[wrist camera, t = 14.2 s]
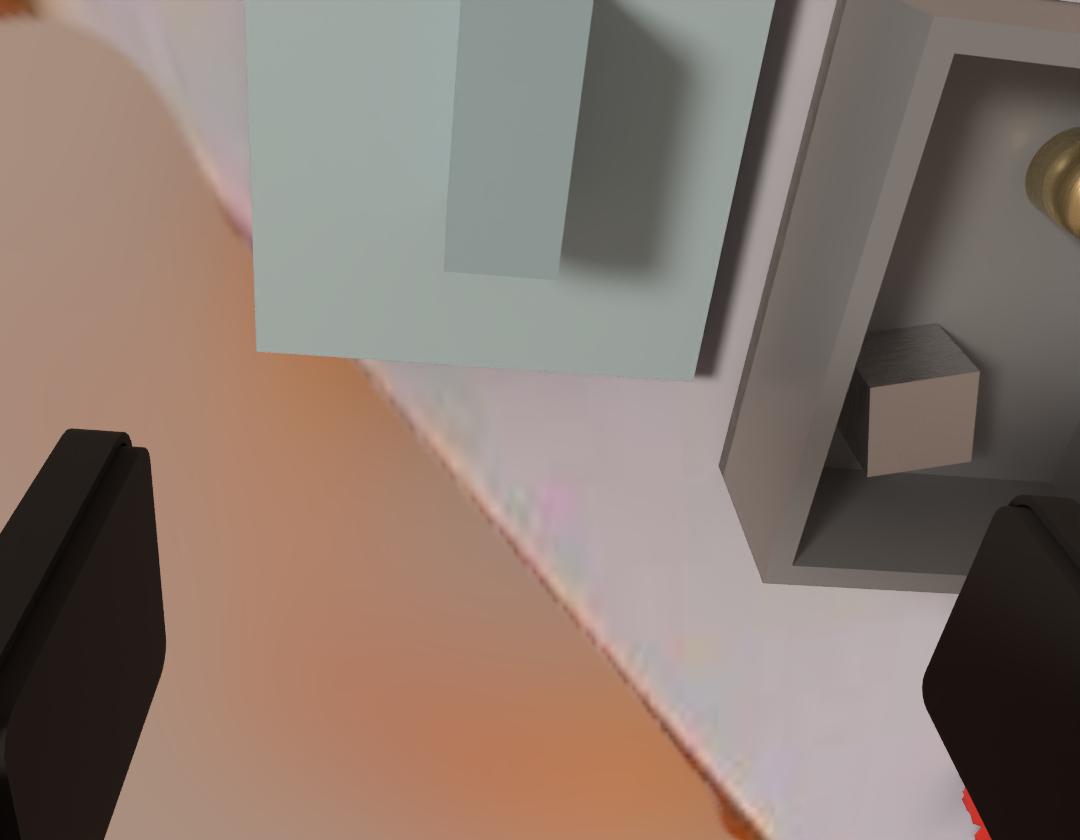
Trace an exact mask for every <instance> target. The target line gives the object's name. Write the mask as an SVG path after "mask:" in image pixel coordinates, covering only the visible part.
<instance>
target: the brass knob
mask: <svg viewBox="0 0 1080 840" xmlns="http://www.w3.org/2000/svg"><path fill="white" fill-rule="evenodd" d="M1025 188H1026V193H1027V196H1028V199H1029V201H1030V202H1031V204H1032V205H1033V206H1034V207H1035V208H1036V209H1038V210H1039V211H1040V212H1042V213H1043V214H1045V215H1046V216H1047V217H1049V218H1050V219H1051V220H1053V221H1054V222H1056V223H1057V224H1058V225H1060V226H1061V227H1062V228H1064V229H1065V230H1067V231H1068V232H1069V233H1071V234H1072V235H1073V236H1075V237H1076V238H1078V239H1079V240H1080V127H1075V128H1071V129H1068V130H1065V131H1063V132H1060V133H1058V134H1057V135H1055V136H1053V137H1052V138H1051V139H1049V140H1048V141H1047V142H1046V143H1045V144H1044V145H1043V146H1042V147H1041V148H1040V149H1039V150H1038V151H1037V153H1036V154H1035V155H1034V157H1033V159H1032V160H1031V162H1030V165H1029V167H1028V170H1027V173H1026V179H1025Z"/></svg>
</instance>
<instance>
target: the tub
mask: <svg viewBox="0 0 1080 840" xmlns="http://www.w3.org/2000/svg"><path fill="white" fill-rule="evenodd" d="M1075 127H1080V3H1076V2H1068V1H1060V0H837V3H836V7H835V10H834V14H833V18H832V22H831V26H830V30H829V34H828V38H827V42H826V46H825V50H824V54H823V58H822V62H821V66H820V70H819V73H818V77H817V81H816V85H815V89H814V93H813V97H812V101H811V105H810V109H809V113H808V117H807V121H806V125H805V129H804V133H803V136H802V140H801V144H800V148H799V152H798V156H797V160H796V164H795V168H794V172H793V176H792V180H791V184H790V188H789V192H788V196H787V199H786V203H785V207H784V211H783V215H782V219H781V223H780V227H779V231H778V235H777V239H776V243H775V247H774V251H773V255H772V258H771V262H770V266H769V270H768V274H767V278H766V282H765V286H764V290H763V294H762V298H761V302H760V306H759V310H758V314H757V318H756V321H755V325H754V329H753V333H752V337H751V341H750V345H749V349H748V353H747V357H746V361H745V365H744V369H743V373H742V377H741V381H740V384H739V388H738V392H737V396H736V400H735V404H734V408H733V412H732V416H731V420H730V424H729V428H728V432H727V436H726V440H725V444H724V447H723V451H722V455H721V459H720V463H719V468H720V471H721V473H722V476H723V478H724V481H725V484H726V486H727V489H728V492H729V494H730V497H731V500H732V502H733V505H734V508H735V510H736V513H737V516H738V518H739V521H740V524H741V526H742V529H743V531H744V534H745V537H746V539H747V542H748V545H749V547H750V550H751V553H752V555H753V558H754V561H755V563H756V566H757V569H758V571H759V574H760V577H761V579H762V582H763V583H769V584H788V585H806V586H824V587H842V588H861V589H879V590H897V591H915V592H934V593H952V594H959V593H960V591H961V589H962V587H963V584H964V582H965V580H966V577H967V575H968V573H969V570H970V568H971V566H972V564H973V561H974V559H975V557H976V554H977V552H978V550H979V547H980V545H981V543H982V540H983V538H984V536H985V534H986V531H987V529H988V527H989V524H990V522H991V520H992V517H993V516H994V514H995V512H996V511H997V510H998V509H999V508H1000V507H1003V506H1008V505H1009V503H1010V501H1012V500H1013V499H1014V498H1015V497H1016V496H1019V495H1038V496H1052V497H1067V498H1071V499H1074V500H1075V501H1076V502H1078V503H1079V504H1080V240H1079V239H1078V238H1076V237H1075V236H1073V235H1072V234H1071V233H1069V232H1068V231H1067V230H1065V229H1064V228H1062V227H1061V226H1060V225H1058V224H1057V223H1056V222H1054V221H1053V220H1051V219H1050V218H1049V217H1047V216H1046V215H1045V214H1043V213H1042V212H1040V211H1039V210H1038V209H1036V208H1035V207H1034V206H1033V205H1032V204H1031V202H1030V201H1029V199H1028V196H1027V193H1026V188H1025V179H1026V173H1027V170H1028V167H1029V165H1030V162H1031V160H1032V159H1033V157H1034V155H1035V154H1036V153H1037V151H1038V150H1039V149H1040V148H1041V147H1042V146H1043V145H1044V144H1045V143H1046V142H1047V141H1048V140H1049V139H1051V138H1052V137H1053V136H1055V135H1057V134H1058V133H1060V132H1063V131H1065V130H1068V129H1071V128H1075ZM932 323H937V324H938V325H939V326H940V327H941V328H942V329H943V330H944V331H945V333H946V334H947V335H948V336H949V337H950V338H951V339H952V340H953V342H954V343H955V344H956V345H957V346H958V347H959V348H960V349H961V351H962V352H963V353H964V354H965V355H966V356H967V357H968V358H969V360H970V361H971V362H972V363H973V364H974V365H975V366H976V367H977V369H978V370H979V371H980V376H979V386H978V396H977V406H976V417H975V427H974V437H973V447H972V457H971V462H965V463H958V464H952V465H945V466H939V467H932V468H925V469H919V470H912V471H906V472H899V473H892V474H886V475H879V476H872V477H867V476H866V474H865V473H864V471H863V469H862V467H861V466H860V464H859V462H858V461H857V459H856V457H855V456H854V454H853V452H852V450H851V449H850V447H849V445H848V444H847V442H846V440H845V439H844V437H843V435H842V433H841V432H840V430H839V428H838V427H837V422H838V419H839V416H840V413H841V410H842V406H843V403H844V400H845V397H846V394H847V391H848V387H849V384H850V381H851V378H852V375H853V372H854V369H855V365H856V362H857V359H858V356H859V353H860V350H861V346H862V343H863V340H864V337H865V334H867V333H874V332H880V331H887V330H893V329H900V328H906V327H913V326H919V325H926V324H932Z"/></svg>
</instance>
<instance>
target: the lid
mask: <svg viewBox="0 0 1080 840" xmlns="http://www.w3.org/2000/svg"><path fill="white" fill-rule="evenodd" d="M774 5H775V0H245V26H246V56H247V85H248V115H249V144H250V174H251V203H252V233H253V262H254V291H255V321H256V351H258V352H274V353H287V354H301V355H315V356H330V357H344V358H358V359H373V360H387V361H401V362H415V363H430V364H444V365H458V366H473V367H487V368H501V369H516V370H530V371H544V372H558V373H573V374H587V375H601V376H616V377H630V378H644V379H659V380H673V381H687V382H693V379H694V375H695V370H696V366H697V361H698V356H699V352H700V347H701V342H702V338H703V333H704V328H705V324H706V319H707V315H708V310H709V305H710V301H711V296H712V291H713V287H714V282H715V278H716V273H717V268H718V264H719V259H720V254H721V250H722V245H723V241H724V236H725V231H726V227H727V222H728V217H729V213H730V208H731V204H732V199H733V194H734V190H735V185H736V180H737V176H738V171H739V167H740V162H741V157H742V153H743V148H744V143H745V139H746V134H747V130H748V125H749V120H750V116H751V111H752V106H753V102H754V97H755V93H756V88H757V83H758V79H759V74H760V69H761V65H762V60H763V56H764V51H765V46H766V42H767V37H768V32H769V28H770V23H771V19H772V14H773V9H774Z"/></svg>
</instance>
